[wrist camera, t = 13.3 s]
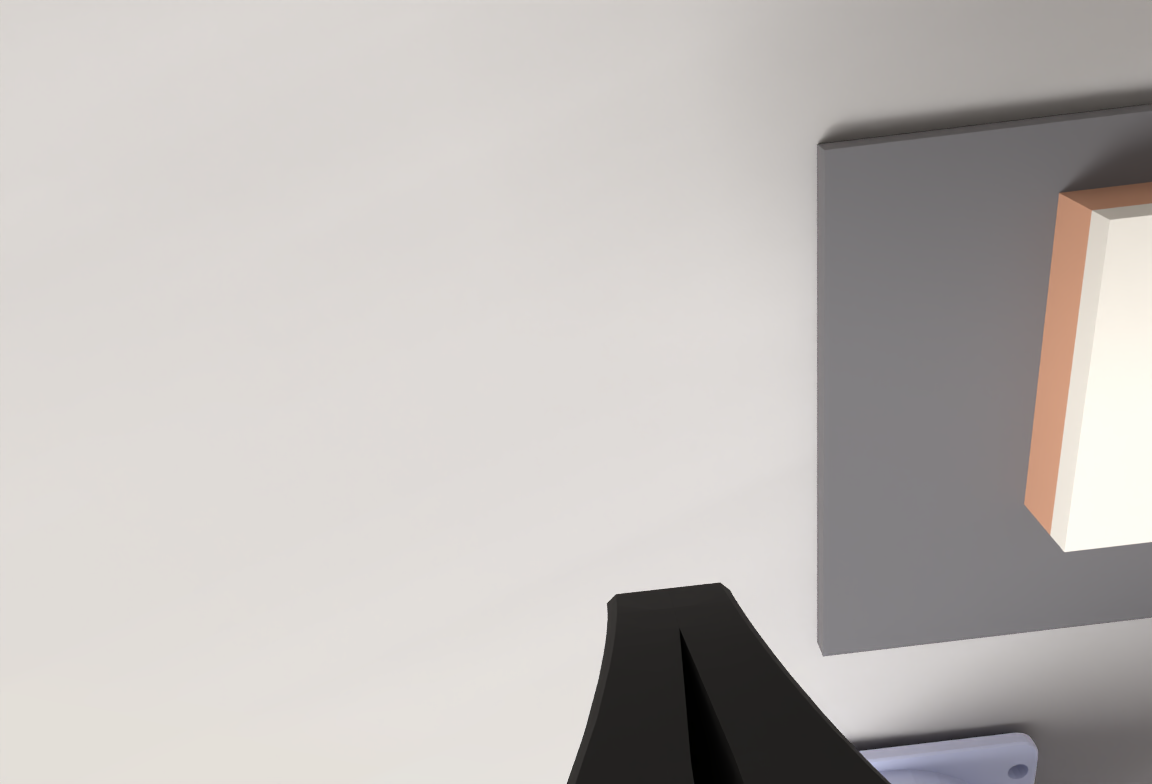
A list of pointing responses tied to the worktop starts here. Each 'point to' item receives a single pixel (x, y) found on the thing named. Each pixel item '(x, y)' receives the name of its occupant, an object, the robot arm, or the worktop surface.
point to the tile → (1096, 374)
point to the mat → (951, 382)
